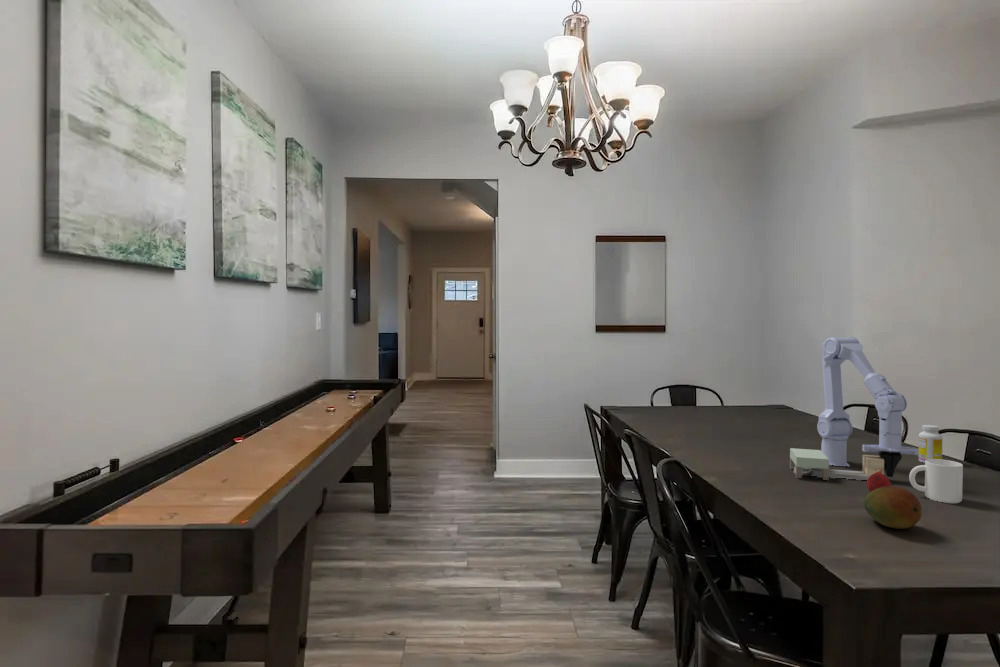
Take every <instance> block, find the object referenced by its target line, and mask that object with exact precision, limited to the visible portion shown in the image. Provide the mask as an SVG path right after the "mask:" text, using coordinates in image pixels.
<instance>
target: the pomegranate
mask: <svg viewBox="0 0 1000 667" xmlns="http://www.w3.org/2000/svg"><path fill="white" fill-rule="evenodd" d="M882 472H883V471H881V470H878V471H877V472H876V473H874V474H872V475H871V476H870V477H869V478H868V479H867V481H866V489H867V490H868V492H869V493H870V492H871V491H873V490H875V489H877V488H880V487H887V486H892V483H891V481H890V479H889V477H888V476H887V475H886V474H884V475H883V474H882Z"/></svg>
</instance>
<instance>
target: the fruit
mask: <svg viewBox="0 0 1000 667" xmlns="http://www.w3.org/2000/svg"><path fill="white" fill-rule="evenodd" d="M863 506H864V509H865V511H866V513H867V514H868V515H869V516H870V517H871V518H872V520H874V521H876V522H877V523H879V524H880V525H882V526H885V527H888V528H891V529H898V530H900V529H903V530H904V529H909V528H912V527H914V526H915V525H917V524H918V522H919V521H920V520H921V518H922V511H923V508H922V504H921V502H920V500H919V498H918V497H917V496H916V495H915V494H914V493H913V492H911V491H910V490H908V489H906V488H903V487H900V486H892V485H891V486H887V487H880V488H877V489H875V490H873V491H871V492H870V491H869V493H868V494H867V495H866V496H865V498H864V500H863Z"/></svg>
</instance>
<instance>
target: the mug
mask: <svg viewBox="0 0 1000 667" xmlns="http://www.w3.org/2000/svg"><path fill="white" fill-rule="evenodd" d="M963 469H964V465H963V463H960V462H957V461H954V460H948V459H942V460H941V459H927V460H926V461H925V463H924V464H921V465H917V466H914V467H913V468H912V469H911V470H910V472H909V474H908V475H909V476H908V477H909V478H908V479H909V482H910V485H911V486H912V487H913V488H914V489H916V490H917V491H919V492H924V495H925V498H927V499H928V498H929V499H928V500H931V501H934V502H937V501H938V503H942V502H943V504H959V503H961V502H962V501H963V484H964V483H963V481H964V480H963V479H964V478H963V476H964V472H963V471H964V470H963ZM923 471H924V485H920V484H918V483H917V482H916V475H917V473H918V472H923Z"/></svg>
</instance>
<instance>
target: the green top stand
mask: <svg viewBox="0 0 1000 667" xmlns="http://www.w3.org/2000/svg"><path fill="white" fill-rule="evenodd" d="M795 466H796V474H795V479H796V478H801V479H802V476H801V469H802V467H808V468H819V469H823V478H822V480H828V481H827V482H829V480H830V478H829V469H830V465H829V459H828V458H827V457H826V456H825V455H824V454H823V453H822V451H821V449H810V448H808V449H807V448H794V447H790V448H789V469H790V470H793V469H794V467H795Z"/></svg>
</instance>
